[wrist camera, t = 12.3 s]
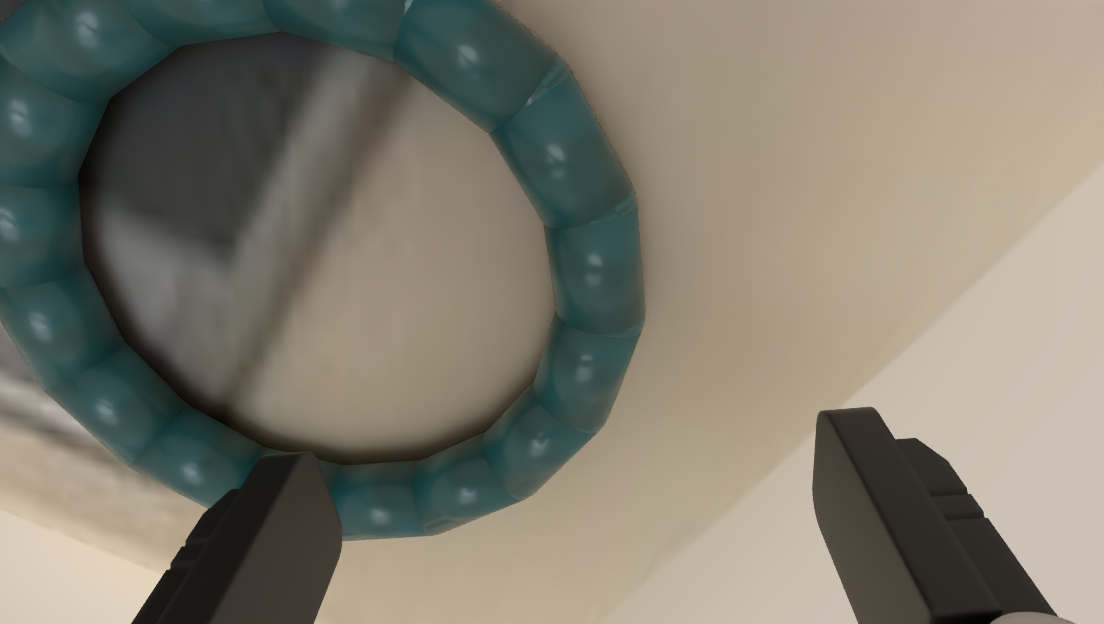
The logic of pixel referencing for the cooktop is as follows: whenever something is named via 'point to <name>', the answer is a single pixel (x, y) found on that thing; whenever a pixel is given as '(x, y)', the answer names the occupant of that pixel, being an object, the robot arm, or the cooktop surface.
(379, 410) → the cooktop surface
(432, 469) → the ring
